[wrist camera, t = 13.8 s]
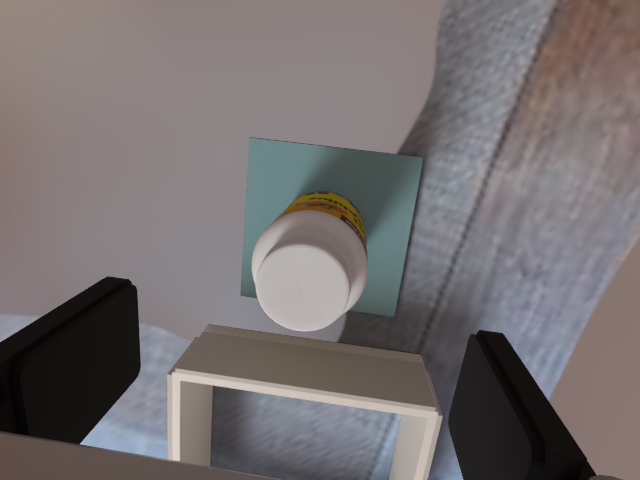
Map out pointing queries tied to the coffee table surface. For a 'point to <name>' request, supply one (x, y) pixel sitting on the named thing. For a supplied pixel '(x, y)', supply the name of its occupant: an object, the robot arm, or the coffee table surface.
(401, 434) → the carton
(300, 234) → the supplement bottle
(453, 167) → the coffee table surface
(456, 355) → the coffee table surface
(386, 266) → the mat
